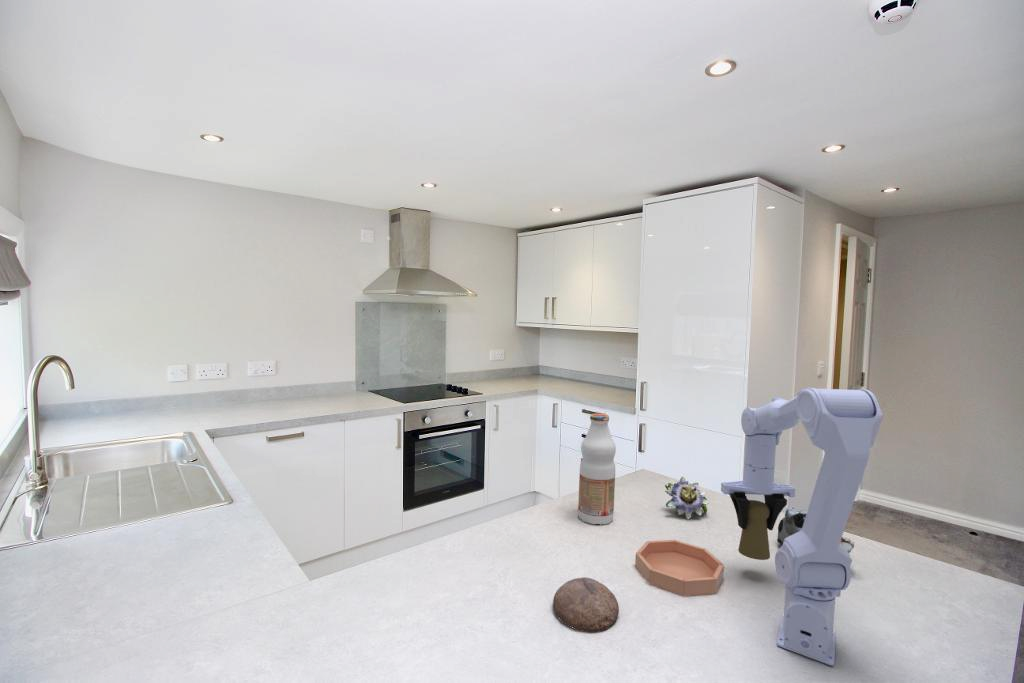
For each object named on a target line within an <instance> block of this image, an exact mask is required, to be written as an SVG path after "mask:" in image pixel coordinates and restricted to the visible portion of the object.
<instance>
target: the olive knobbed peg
mask: <svg viewBox="0 0 1024 683" xmlns="http://www.w3.org/2000/svg"><path fill="white" fill-rule="evenodd" d="M748 500H749V501H750V504H749V507H748V511H747V524H746V529H742V528H741V533H740V534H741V535H740V539H739V545H738V552H739V554H741V555H742V556H743V557H744V556H745V557H747V558H749V559H753V560H757V561H758V560H759V561H765V560H769V559H770V558H771V552H770V543H769V542H770V541H769V532H768V528H767V521H766V519H767V518H768V517H769V514H770V510H769V507H768V506H767V505H766V504H765V502H763V501H759V500H756V499H755V500H754V499H748Z"/></svg>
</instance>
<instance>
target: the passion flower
mask: <svg viewBox="0 0 1024 683" xmlns="http://www.w3.org/2000/svg"><path fill="white" fill-rule="evenodd" d="M664 487H665V488H666V490H665V493H666V494H667V495H669V497H671V499H670V500H668V501H667V502H666V504H665V506H666V507H667V508H672V507H675V510H676V511H675V512H676V515H677V516H678V517H680V516H682V515H683V516H684V519H685V520H687V521H689V520H690V519H691V518H692V513H695V514H696V515H697V516H701V515H703V514H702V511H703V512H704V515H706V514H707V513H708V507H707V505H708V504H710V501H709V500H708V499H707V497H706V494H707V493H706V492H705V491H701V490H700V489H699V482H693V483H689V480H686V478H685V477H684V476H681V477H680V478H679V481H677V483H672V482H668V483H667V484H665V485H664ZM701 509H702V510H701Z"/></svg>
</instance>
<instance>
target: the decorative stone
mask: <svg viewBox="0 0 1024 683" xmlns="http://www.w3.org/2000/svg"><path fill="white" fill-rule="evenodd" d="M552 602H553V603H552V606H553V611H555V612H554V614H555V613H556V614H555V616H558V617H559V618H560V619H561V620H562V621H563V622H564V624H565V623H566V624H567V625H569V626H571V627H570V628H572V627H573V628H572V629H574V628H575V629H574V630H577V629H578V630H577V631H580V630H583V631H582V632H586V631H587V632H586V633H598V631H599V632H604V631H603V630H605V631H607V630H608V629H610V628H611V627H612V626H614V625H615V624H616V622H617V620H618V618H619V613H620V609H619V608H620V607H619V603H618V600H617V598H616V595H615V594H614V593H613V592H612V591H611V590H610V589H609V588H608V587H607V586H606V585H605V584H603V583H602V582H600V581H598V580H596V579H593V578H590V577H583V576H582V577H577V578H576V577H575V578H573V579H570V580H567V581H566V582H565V583H563V584H562V585H561V586H560V587H559V588H558V589H556V592H555V593H554V596H553V600H552ZM558 617H557V618H558ZM559 618H558V619H559ZM560 619H559V620H560ZM561 620H560V621H561ZM562 621H561V622H562ZM563 622H562V623H563ZM566 624H565V625H566ZM567 625H566V626H567ZM569 626H568V627H569Z"/></svg>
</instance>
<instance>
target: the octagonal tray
mask: <svg viewBox="0 0 1024 683" xmlns="http://www.w3.org/2000/svg"><path fill="white" fill-rule="evenodd" d="M634 565H635V568H636V569H637V571H639V573H640V574H641V575H642V577H643V578H644V579H645V581H647V583H648V584H649V585H652V586H654V587H657V588H660V589H663V590H666V591H668V592H671V593H674V594H677V595H679V596H682V597H688V596H701V595H702V596H703V595H714V594H715V595H716V594H717V592H718V590H719V588H720V586H721V584H722V582H723V580H724V572H725V570H724V569H725V564H724V563H723V562H722V561H720V560H719V559H718V558H717V557H716V556H714V555H713V553H711V552H710V551H709V550H708V549H707V548H705V547H701V546H698V545H694V544H691V543H688V542H684V541H680V540H677V539H664V540H663V539H661V540H660V539H659V540H646V541H645V542H644V543H643V544H642V546H640V547H639V549H638V550H637V551H636V552H635V564H634Z"/></svg>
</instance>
